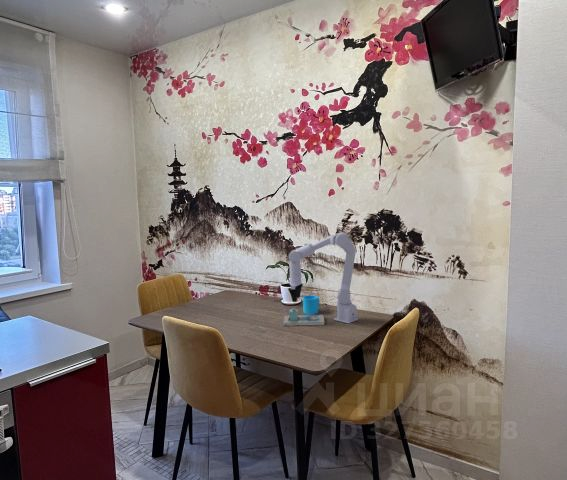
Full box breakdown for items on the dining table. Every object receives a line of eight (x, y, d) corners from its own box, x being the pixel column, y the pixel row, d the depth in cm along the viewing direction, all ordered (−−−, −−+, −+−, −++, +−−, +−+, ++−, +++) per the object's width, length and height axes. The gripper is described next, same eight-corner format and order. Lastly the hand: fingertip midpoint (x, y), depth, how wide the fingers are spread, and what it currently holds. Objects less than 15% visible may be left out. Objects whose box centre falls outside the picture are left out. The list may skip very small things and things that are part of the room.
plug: (297, 320, 203) (297, 307, 202) (297, 323, 199) (297, 310, 198) (290, 320, 203) (289, 307, 202) (289, 323, 199) (289, 310, 198)
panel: (323, 317, 205) (323, 315, 205) (324, 325, 195) (324, 322, 194) (284, 318, 206) (284, 315, 206) (283, 325, 196) (283, 322, 195)
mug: (312, 315, 211) (312, 300, 210) (300, 312, 216) (299, 297, 215) (325, 309, 220) (324, 295, 219) (313, 307, 225) (312, 293, 224)
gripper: (290, 270, 211) (291, 295, 212) (284, 276, 197) (285, 303, 198) (303, 270, 209) (304, 296, 211) (298, 276, 195) (299, 303, 197)
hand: (296, 299), depth 205 cm, fingers open, 7 cm apart
